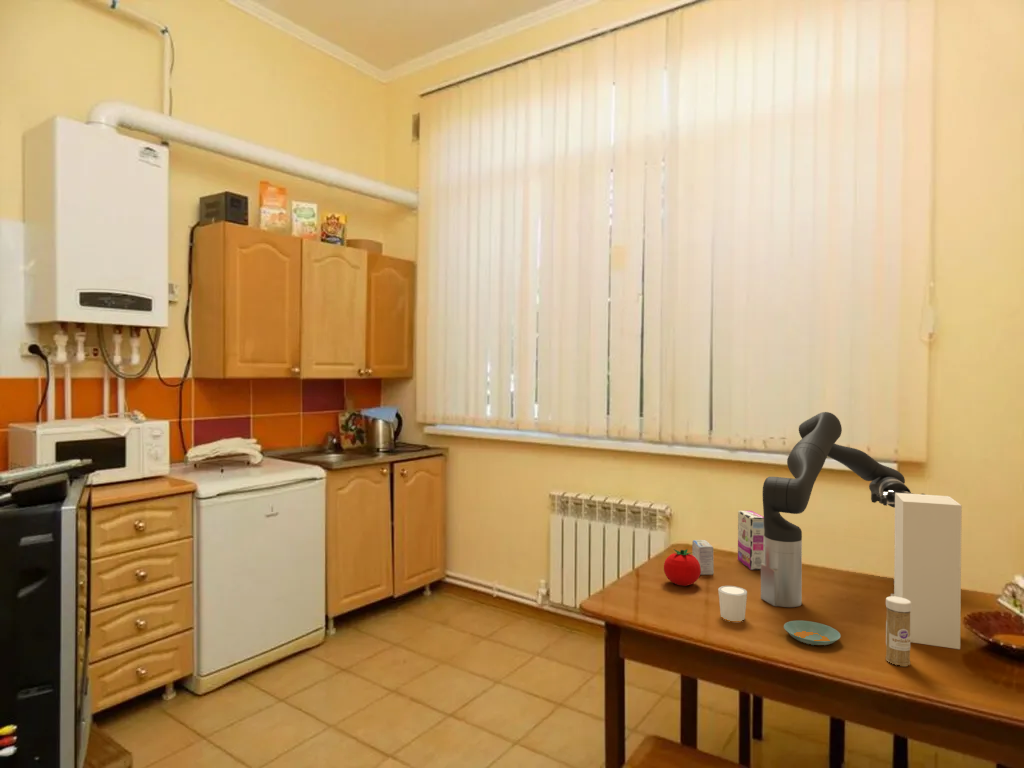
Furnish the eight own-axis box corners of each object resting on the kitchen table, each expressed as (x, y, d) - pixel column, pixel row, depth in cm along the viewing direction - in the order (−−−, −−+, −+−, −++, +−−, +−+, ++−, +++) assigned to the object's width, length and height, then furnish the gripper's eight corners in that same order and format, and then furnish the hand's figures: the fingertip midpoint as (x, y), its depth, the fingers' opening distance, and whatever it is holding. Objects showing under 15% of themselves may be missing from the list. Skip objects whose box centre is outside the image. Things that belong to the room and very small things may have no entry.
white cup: (717, 621, 153) (717, 593, 153) (718, 610, 159) (718, 584, 159) (747, 624, 151) (747, 596, 151) (746, 614, 157) (747, 586, 157)
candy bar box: (766, 570, 192) (766, 517, 191) (750, 570, 192) (750, 518, 191) (752, 559, 203) (752, 509, 202) (737, 559, 203) (737, 510, 202)
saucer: (792, 625, 151) (792, 615, 151) (845, 638, 143) (845, 628, 143) (777, 641, 142) (777, 631, 142) (833, 656, 134) (833, 646, 134)
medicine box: (713, 575, 188) (713, 546, 187) (699, 575, 188) (699, 546, 188) (706, 567, 195) (706, 539, 195) (692, 567, 196) (692, 539, 195)
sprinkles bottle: (897, 668, 128) (897, 604, 128) (880, 658, 133) (880, 596, 132) (916, 666, 129) (916, 602, 129) (898, 656, 134) (898, 594, 133)
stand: (960, 649, 137) (961, 505, 136) (902, 640, 141) (903, 501, 141) (947, 630, 147) (949, 496, 146) (894, 622, 151) (894, 492, 151)
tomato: (657, 585, 179) (657, 550, 179) (673, 576, 187) (673, 543, 187) (691, 593, 172) (691, 557, 172) (706, 583, 180) (707, 549, 180)
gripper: (867, 478, 190) (874, 487, 175) (922, 482, 184) (933, 491, 169) (867, 503, 190) (873, 514, 175) (922, 507, 184) (933, 519, 169)
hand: (903, 503), depth 172 cm, fingers open, 8 cm apart
